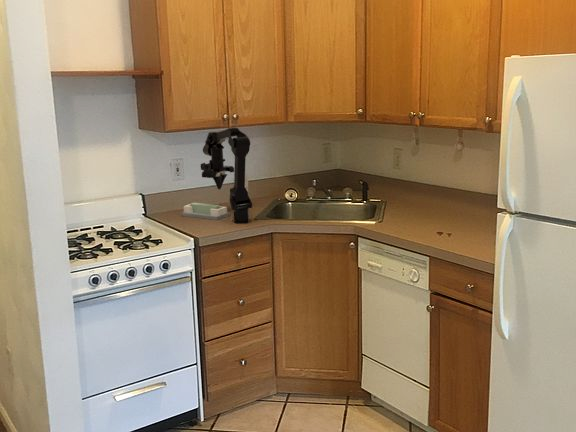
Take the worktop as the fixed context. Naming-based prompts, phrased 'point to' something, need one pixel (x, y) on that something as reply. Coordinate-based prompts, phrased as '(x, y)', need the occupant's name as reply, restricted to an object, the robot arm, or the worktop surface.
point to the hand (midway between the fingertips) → (219, 189)
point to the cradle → (214, 215)
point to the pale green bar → (203, 207)
